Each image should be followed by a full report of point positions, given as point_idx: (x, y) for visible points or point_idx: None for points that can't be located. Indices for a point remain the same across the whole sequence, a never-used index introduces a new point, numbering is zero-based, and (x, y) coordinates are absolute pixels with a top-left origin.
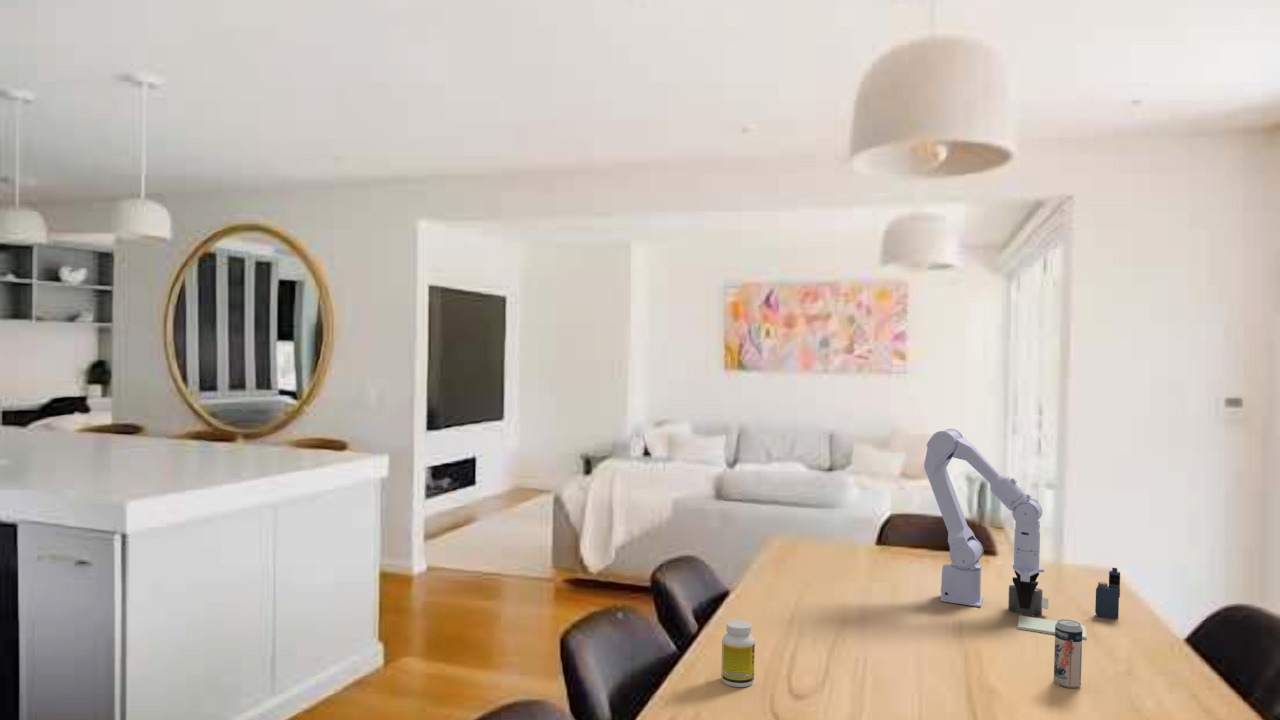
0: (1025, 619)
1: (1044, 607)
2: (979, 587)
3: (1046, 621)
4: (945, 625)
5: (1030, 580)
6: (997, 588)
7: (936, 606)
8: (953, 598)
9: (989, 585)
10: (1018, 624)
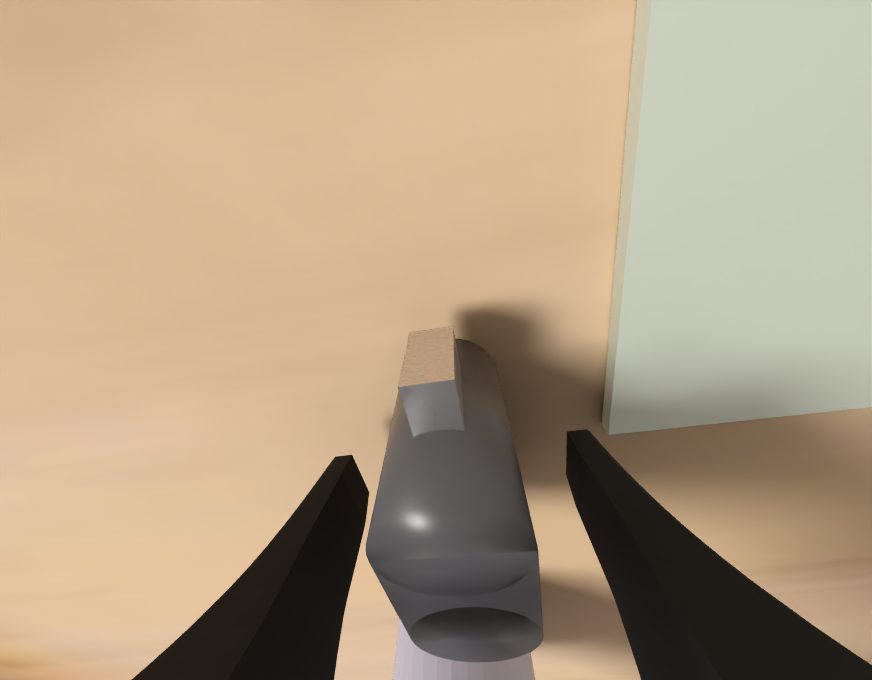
0: (691, 397)
1: (458, 356)
2: (477, 670)
3: (682, 279)
4: (865, 589)
5: (279, 658)
6: (149, 553)
7: (598, 628)
8: None
9: (142, 574)
10: (834, 409)
